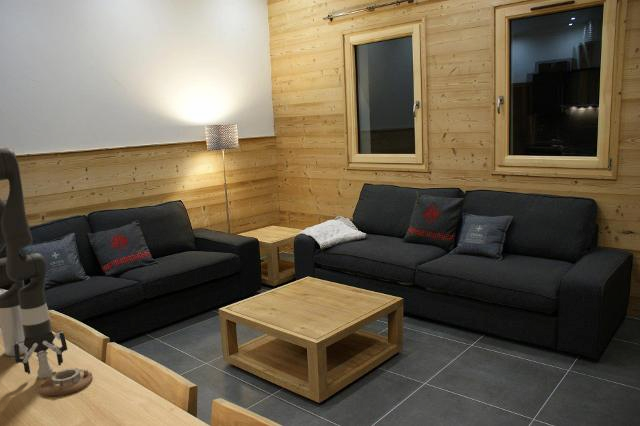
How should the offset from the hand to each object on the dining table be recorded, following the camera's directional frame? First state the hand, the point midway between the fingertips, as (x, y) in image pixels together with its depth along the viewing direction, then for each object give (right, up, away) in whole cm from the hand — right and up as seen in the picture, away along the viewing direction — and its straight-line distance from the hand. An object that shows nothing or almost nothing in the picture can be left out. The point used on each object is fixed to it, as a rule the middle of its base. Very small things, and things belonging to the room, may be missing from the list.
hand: (44, 368), depth 167 cm
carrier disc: (+10, -3, -6) cm, 12 cm away
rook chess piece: (0, -2, +1) cm, 2 cm away
